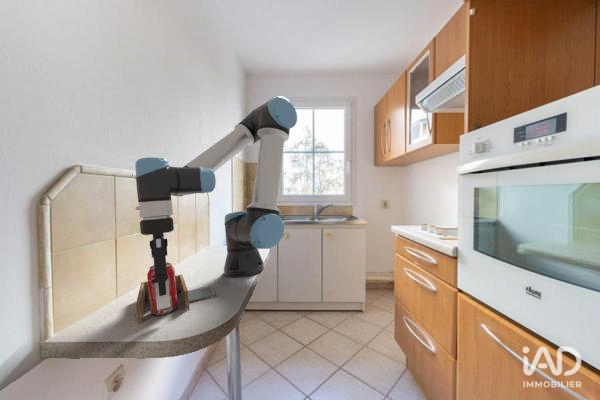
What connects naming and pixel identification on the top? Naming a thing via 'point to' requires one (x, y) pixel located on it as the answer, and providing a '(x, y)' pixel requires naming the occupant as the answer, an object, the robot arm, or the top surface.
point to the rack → (145, 295)
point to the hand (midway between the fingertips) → (163, 298)
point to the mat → (200, 294)
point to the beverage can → (171, 290)
